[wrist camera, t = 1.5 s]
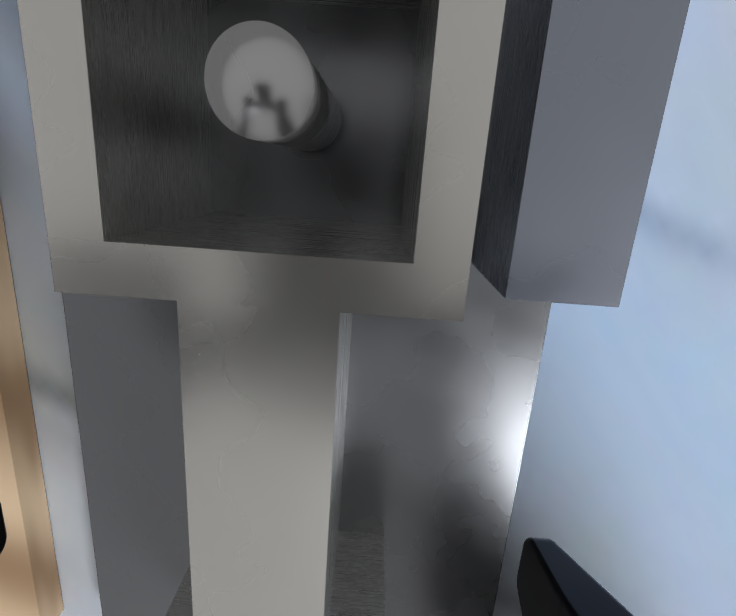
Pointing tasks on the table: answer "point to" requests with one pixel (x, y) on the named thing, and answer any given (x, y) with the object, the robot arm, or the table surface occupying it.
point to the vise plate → (387, 333)
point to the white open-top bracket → (252, 275)
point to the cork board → (21, 475)
